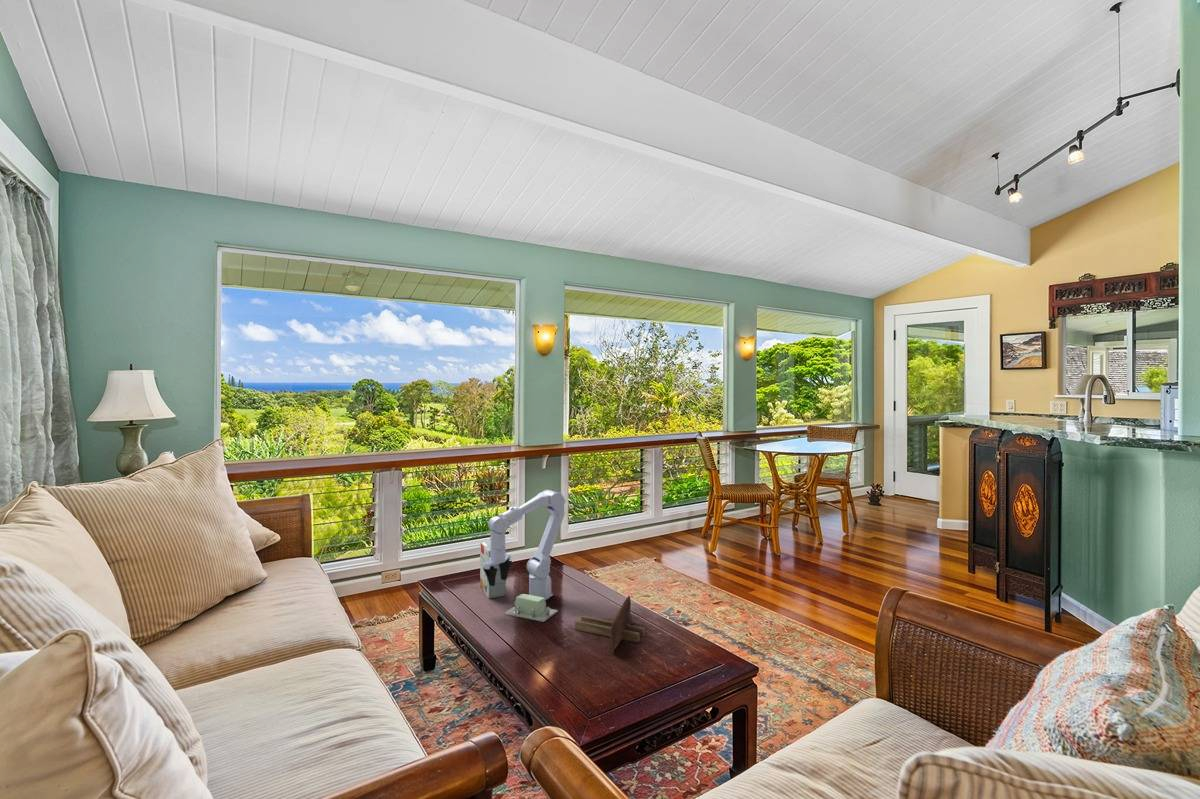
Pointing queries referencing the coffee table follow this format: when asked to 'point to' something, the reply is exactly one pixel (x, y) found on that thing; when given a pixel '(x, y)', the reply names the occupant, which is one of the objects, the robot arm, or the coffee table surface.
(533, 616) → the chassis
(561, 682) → the coffee table surface
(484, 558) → the hard drive box
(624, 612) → the wooden tablet
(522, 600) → the pale green block
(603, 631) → the tablet cradle
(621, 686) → the coffee table surface
